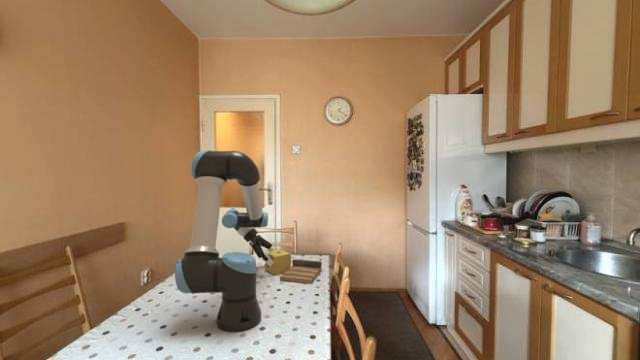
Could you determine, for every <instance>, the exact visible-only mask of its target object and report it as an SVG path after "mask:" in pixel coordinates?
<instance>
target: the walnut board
mask: <svg viewBox="0 0 640 360" xmlns="http://www.w3.org/2000/svg"><path fill="white" fill-rule="evenodd" d="M322 266H323V265H322V260H321V261H319V260H308V259H307V260H306V259H298V258H297V259H295V258H294V259H291V268H289V269H288V270H287V271H286V272H284V273H281V275H280V277H279V281H280V282H289V283H298V284H309V285H311V284H313V283H314V281H315V280H316V279H317V277H318V276H319V274H321V272H322V270H323V269H322V268H323V267H322Z"/></svg>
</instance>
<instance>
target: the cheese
mask: <svg viewBox="0 0 640 360" xmlns="http://www.w3.org/2000/svg"><path fill="white" fill-rule="evenodd" d="M266 255H267V256H268V257H269V258H270V259H271V260H272V261H273V262H274V263H273V264H272V265H271V266H269V265H268V264H267V263H266V262H265V263H264V266H263V267H264V270H265V271H267V272H269V273H270V274H271V275H272V276H276V275H280V274H284V273H285V272H286V271H287V270H288V269H289V268H291V267H292V255H291V253H290V252H287V251H286V250H284V249H281V248H280V249H274V250H273V251H271V252H269V253H267V254H266Z"/></svg>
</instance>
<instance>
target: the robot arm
mask: <svg viewBox="0 0 640 360" xmlns="http://www.w3.org/2000/svg"><path fill="white" fill-rule="evenodd" d="M190 169H191V176H192V178H193V179H194V180H195V181H194V182H195V183H196V184H197V186H198V190H197V197H196V203H195V210H194V216H193V224H192V232H191V239H190V245H189V248H188V249H187V250H185V252H184V255H183V257H181V258H179V259H177V261H176V264H175V266H174V267H175V269H174V281H175V285H176V287H177V289H178V291H179V292H180V293H182V294H192V295H193V294H194V295H195V294H218V293H221V304H220V307H219V309H218V312H217V314H216V326H217V327H218V328H219V329H220V330H222V331H226V332H232V333H233V332H241V331H242V332H243V331H247V330H249V329H252V328H254V327H256V326H257V325H259V324H260V322H261V321H262V310H261V306H260V305H259V304H260V303H259V301H258V299H257V272H258V269H257V259H256V258H255V257H254V256H253V255H252V254H249V253H246V252H240V251H239V252H238V251H236V252H235V251H233V252H225V253H224V254H223V255H222V256H221V257H220V253H219V251H218V250H217V249H216V247H217V246H216V244H217V236H218V229H219V228H218V227H219V219H220V218H219V217H220V208H221V201H222V200H221V199H222V193H223V191H222V190H223V188H224V187H226V185H227V182H228V180H232V181H233V180H236V181H237V183H238V185H240V187H241V191H242V196H243V200H244V205H245V208H246V212H239V211H238V210H237V209H236V208H235V207H232V208H230V209H228V210H227V211H226V212H225V213H224V215H222V217H221V224H222V226H223V227H224V228H226V229H234V230H235V231H236V232H237V233H238V234H237V235H240V236H241V237H243V240H245V241H246V243H248V244H249V246H251V248H252V250H253V251H254V253H255V255H256V256H257V258H259V259H262V260H263V261H264V262H265V263H267V264H268V265H269V266H271V265H272V264H273V263H274V262H273V261H272V260H271V259H270V258H269V257H268V256H267V255H268V254H266V253H265V252H264V250H263V248H265V249H267V251H268V252H269V253H270V252H271V251H273V250H275V249H274V247H273V244H272V243H271V242H269V241H268V240H266V239H265V238H264V237H262V236H261V235H260V234H258V231H257V230H256V229H255V228H258V229H260V228H266V227H267V226H268V224H269V214H268V213H267V212H264V210H263V205H262V203H263V202H262V197H261V192H260V191H261V189H260V186H259V185H260V184H259V182H260V180H261V178H260V177H261V174H260V170H259V167H258V165H256V163H255V162H254V160H253V159H252V158H251V157H250V156H248V155H247V154H246V153H244V152H241V151H238V150H212V149H211V150H209V149H208V150H200V151H198V152H196V153H195V155H194V156H193V159H192V163H191V168H190ZM262 247H263V248H262Z"/></svg>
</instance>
